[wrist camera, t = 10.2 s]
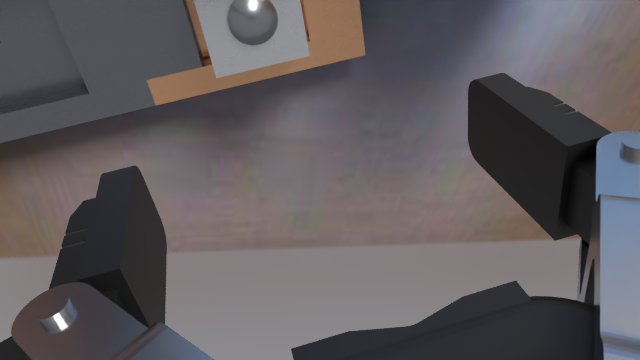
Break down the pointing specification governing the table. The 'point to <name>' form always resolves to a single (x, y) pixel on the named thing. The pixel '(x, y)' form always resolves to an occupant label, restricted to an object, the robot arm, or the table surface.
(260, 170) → the table surface
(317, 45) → the tray
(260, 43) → the silver block
